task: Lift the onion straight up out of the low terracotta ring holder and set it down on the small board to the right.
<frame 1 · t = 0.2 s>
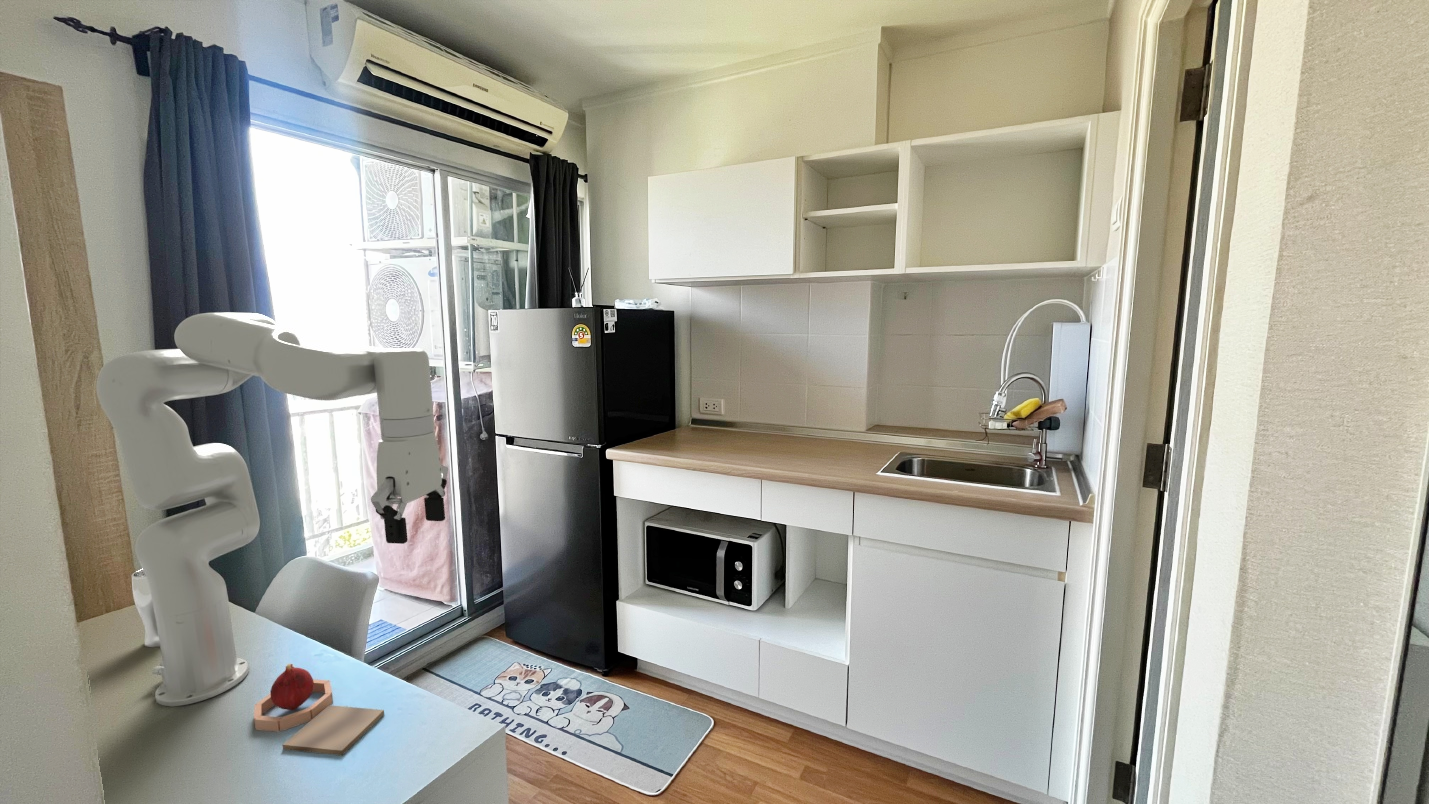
hand: (417, 530, 92), 31 cm above the table, fingers open, 9 cm apart
onion: (295, 709, 96), resting in ring holder
ring holder: (295, 708, 96), on the table
beer glass: (165, 639, 118), on the table
board: (335, 731, 91), on the table
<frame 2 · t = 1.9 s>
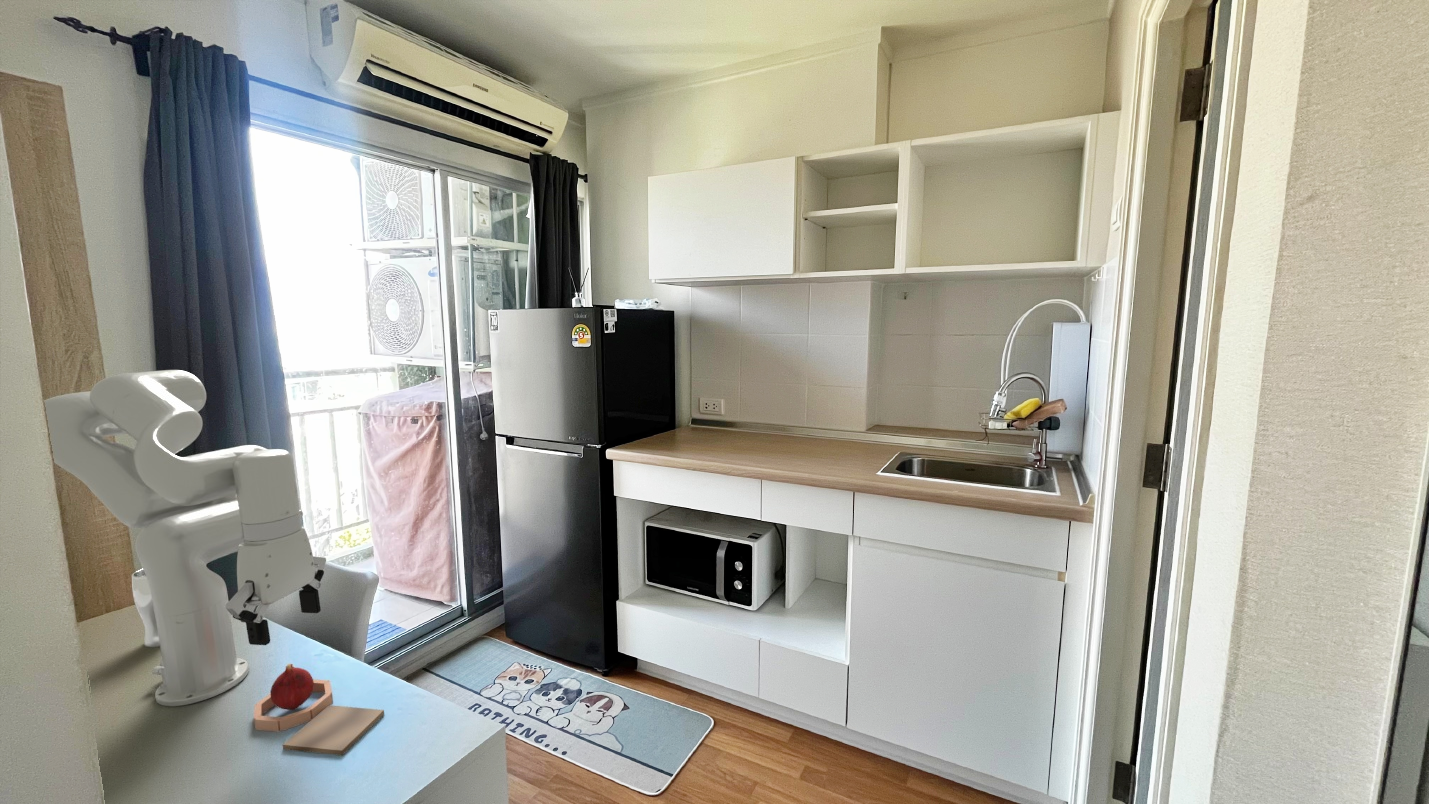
hand: (286, 627, 94), 15 cm above the table, fingers open, 9 cm apart
nothing on the table moved.
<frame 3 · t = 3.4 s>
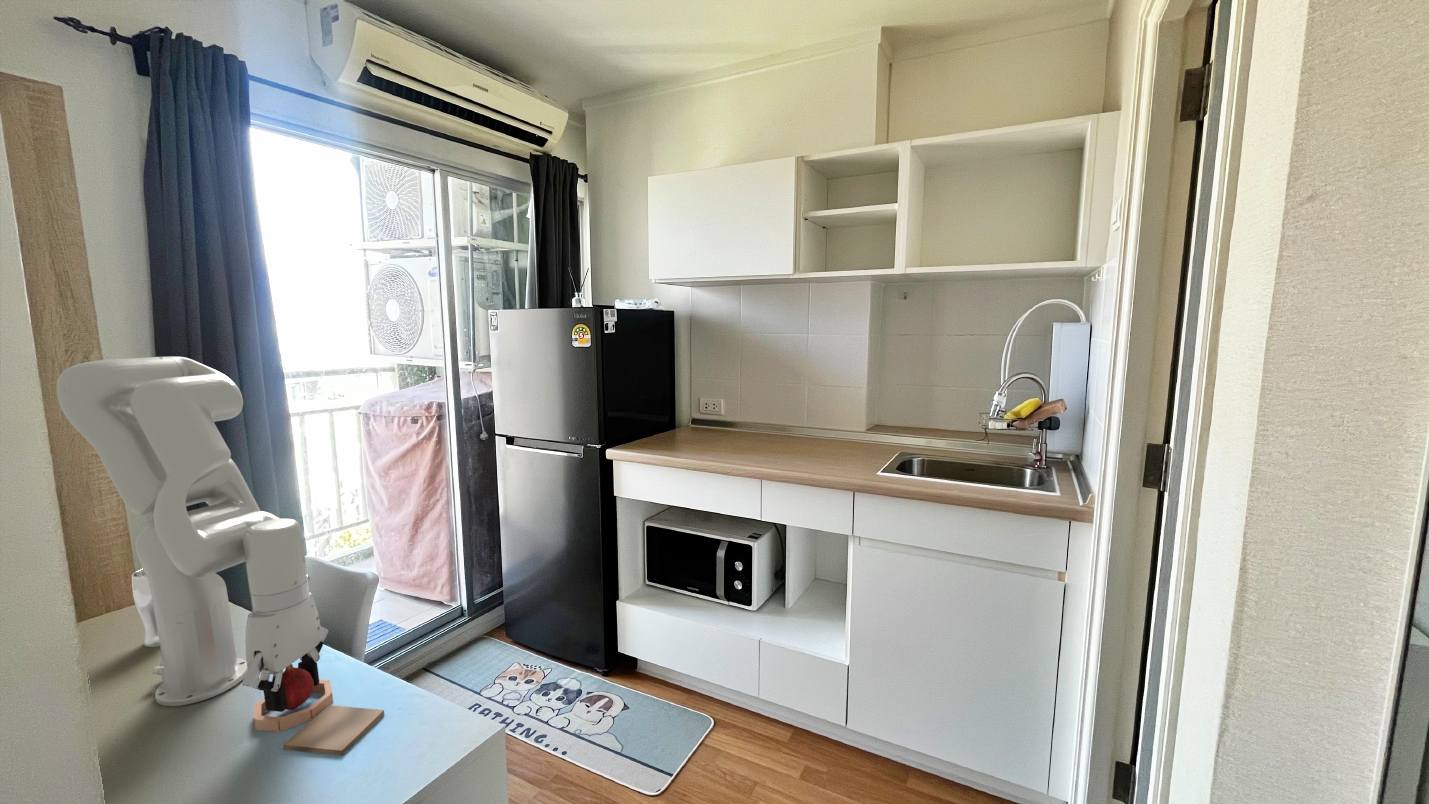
hand: (293, 695, 96), 2 cm above the table, fingers closed on onion, 5 cm apart
onion: (295, 709, 96), resting in ring holder, touching gripper
everything else where it was.
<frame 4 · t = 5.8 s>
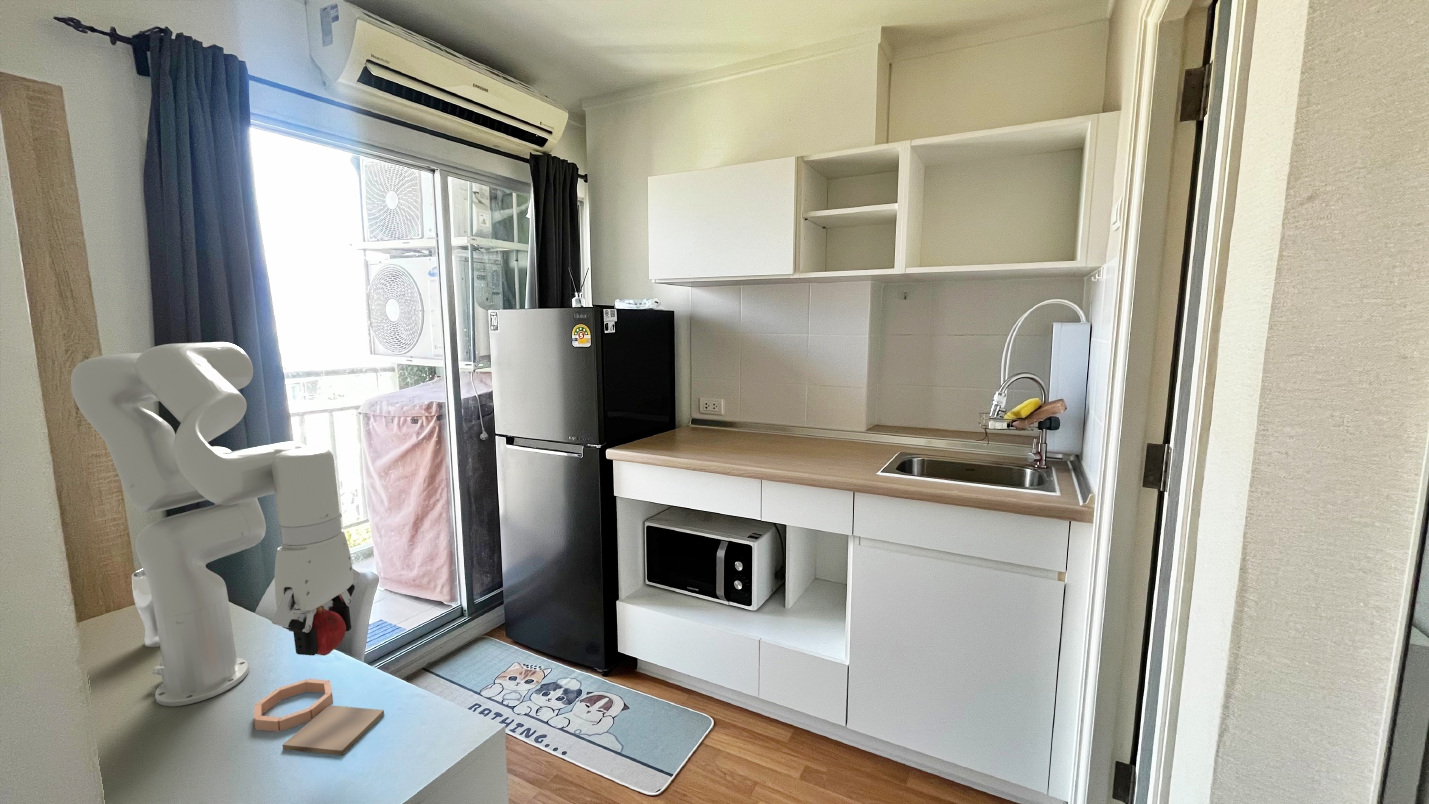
hand: (324, 640, 88), 15 cm above the table, fingers closed on onion, 5 cm apart
onion: (326, 655, 89), point 13 cm above the table, touching gripper
everything else where it was.
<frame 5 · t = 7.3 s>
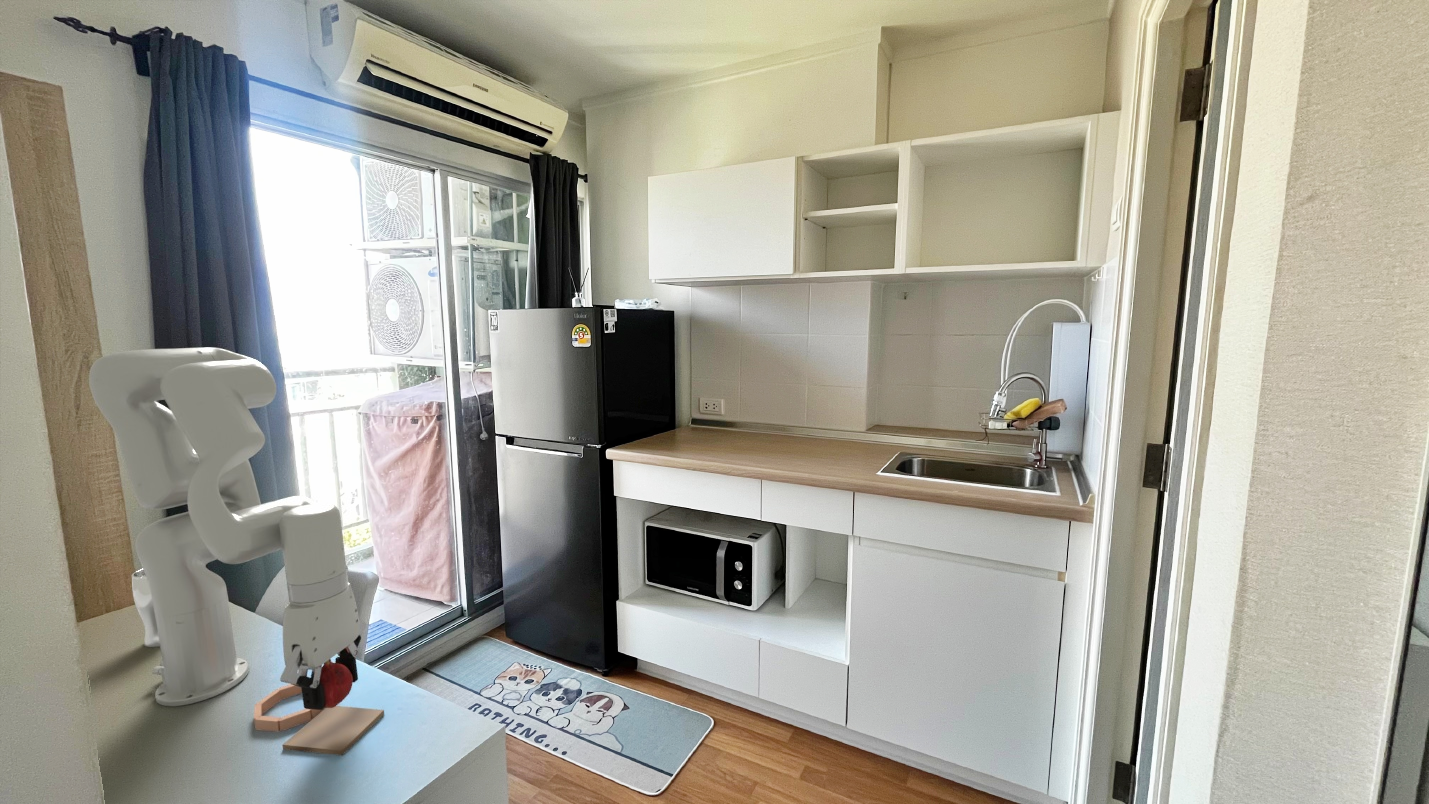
hand: (331, 693, 90), 7 cm above the table, fingers closed on onion, 5 cm apart
onion: (333, 707, 90), point 4 cm above the table, touching gripper
everything else where it was.
when the fingers open (4 cm above the table, at t = 8.4 s): onion stays where it is, resting on board.
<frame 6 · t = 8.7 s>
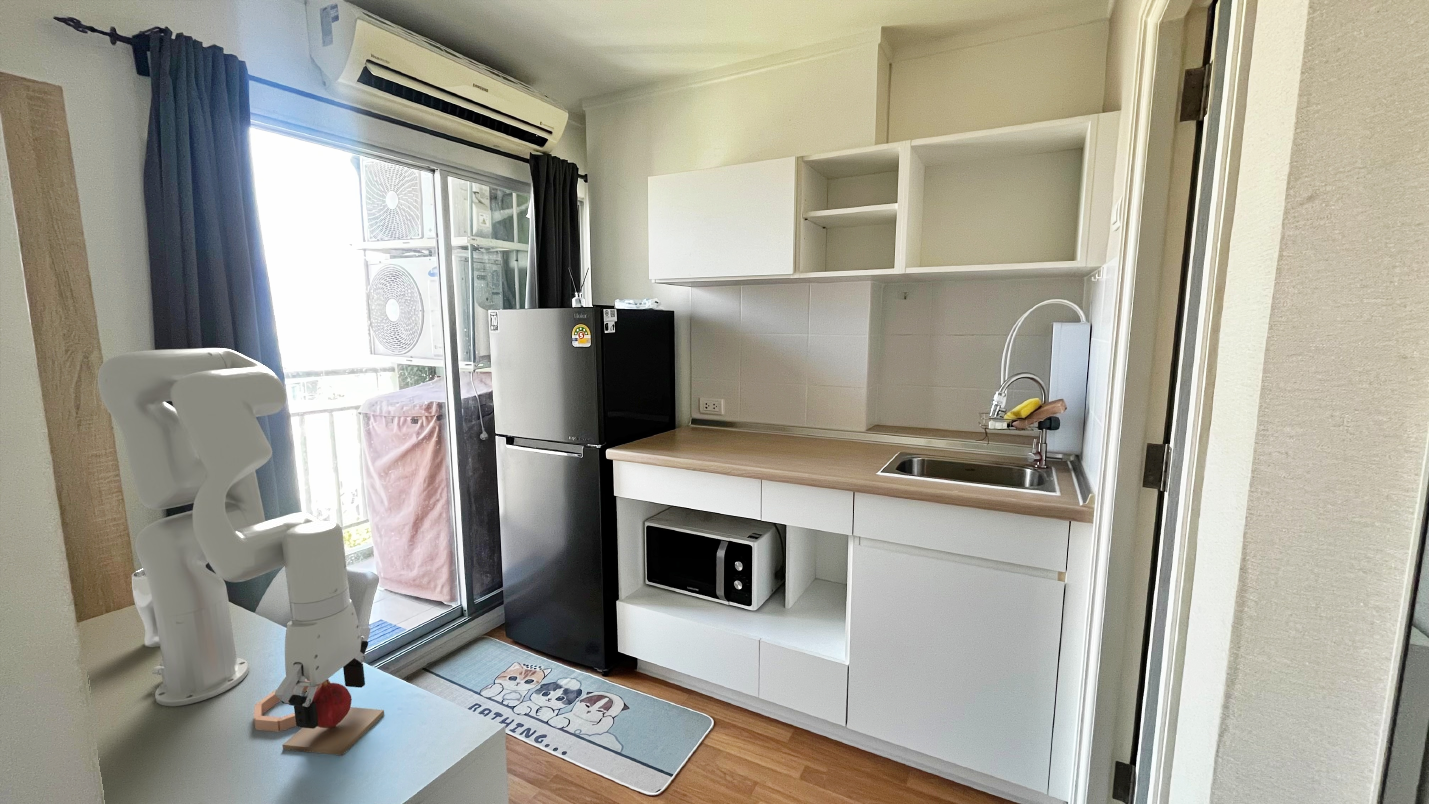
hand: (332, 705, 90), 5 cm above the table, fingers open, 9 cm apart
onion: (333, 727, 90), point 1 cm above the table, touching board
everything else where it was.
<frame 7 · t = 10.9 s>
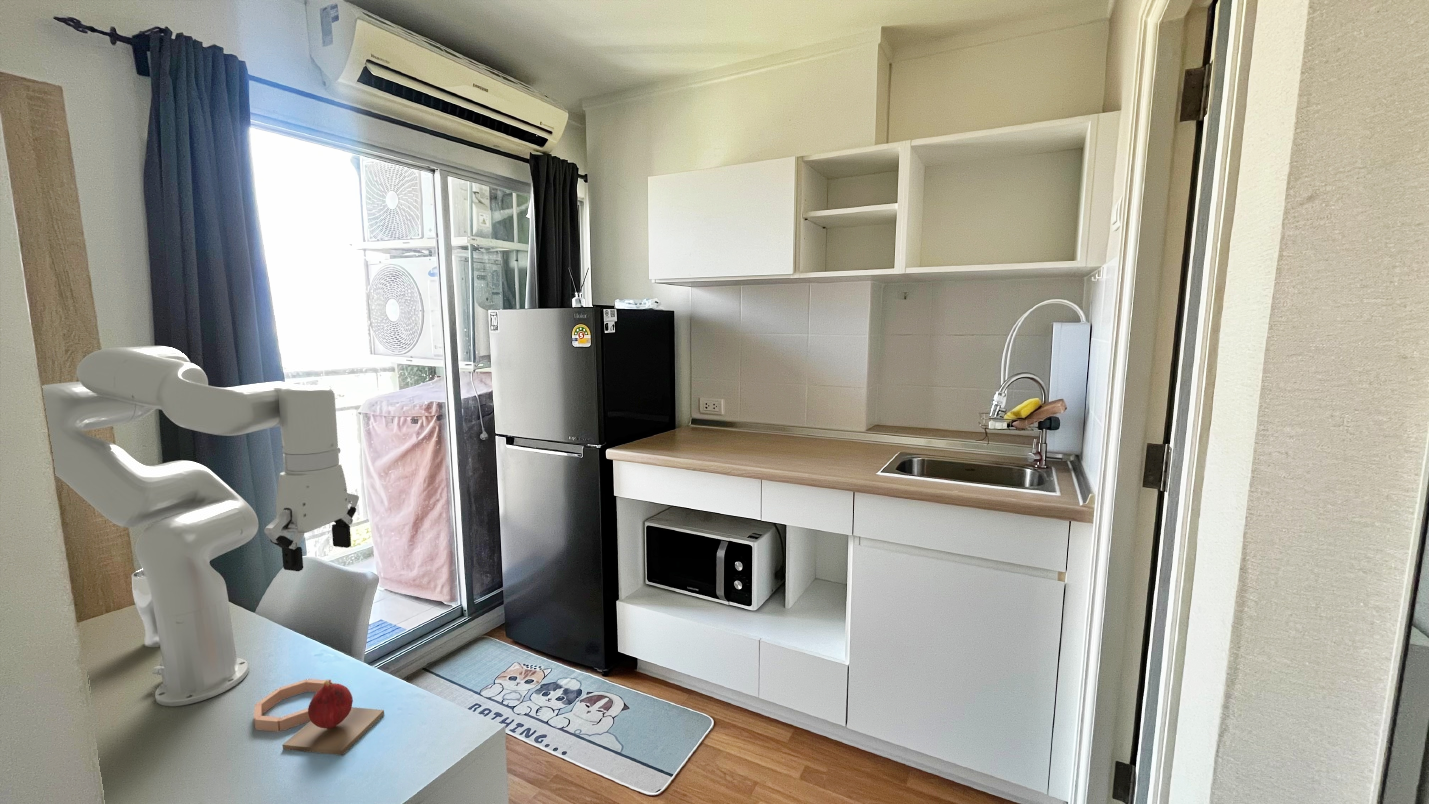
hand: (318, 557, 97), 25 cm above the table, fingers open, 9 cm apart
nothing on the table moved.
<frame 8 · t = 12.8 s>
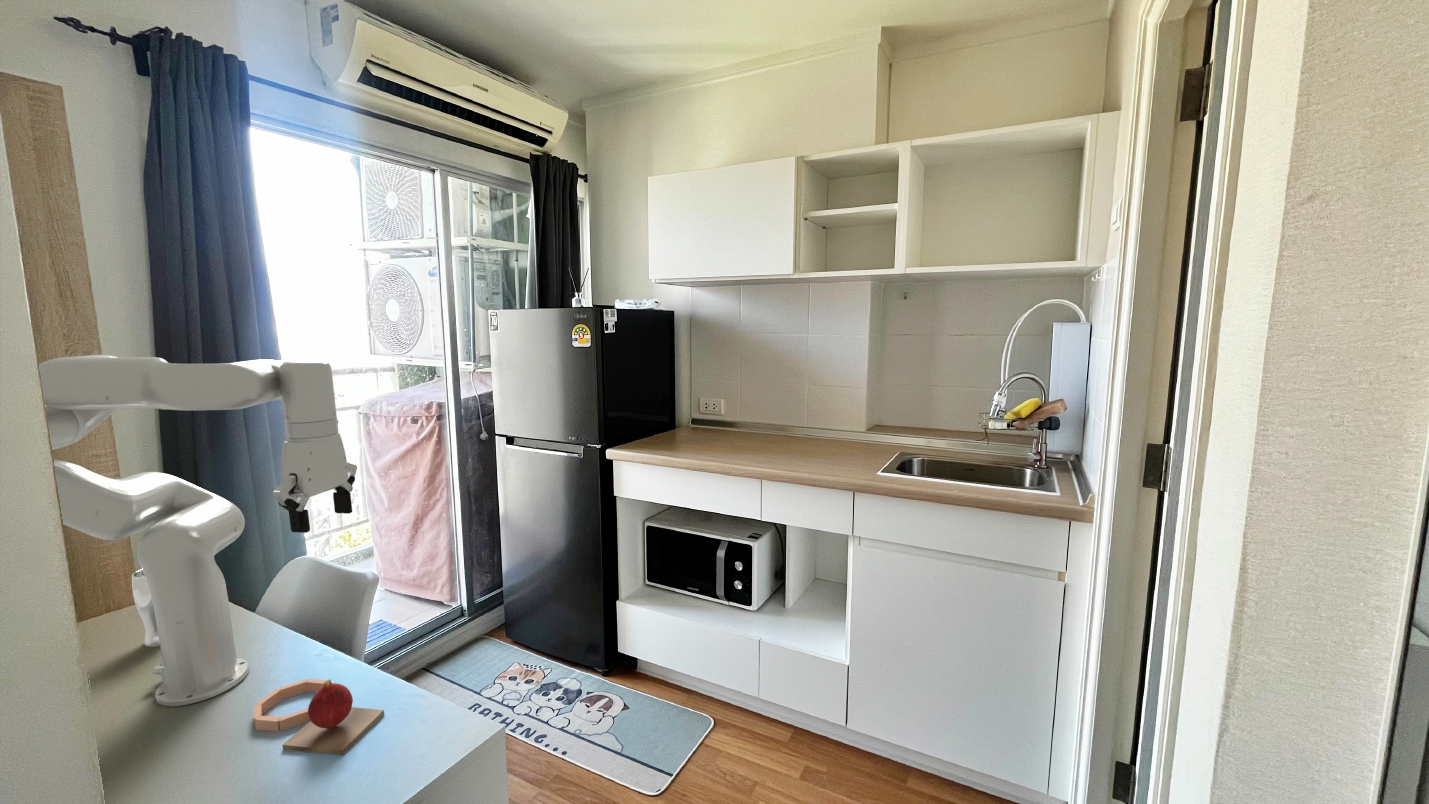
hand: (323, 521, 104), 28 cm above the table, fingers open, 9 cm apart
nothing on the table moved.
at the end: onion inside the target area on the board (0.2 cm from its centre), point 0.6 cm above the board's base; the gripper is holding nothing; onion touching board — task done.
